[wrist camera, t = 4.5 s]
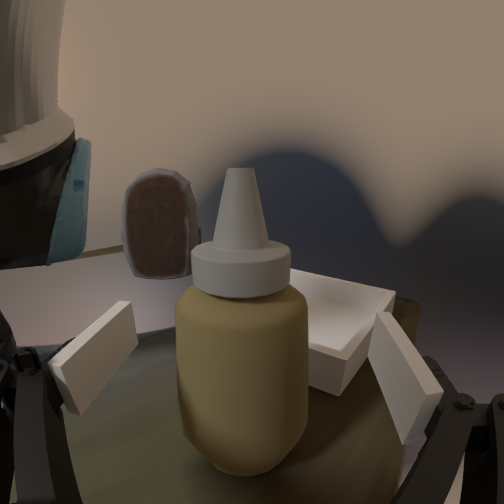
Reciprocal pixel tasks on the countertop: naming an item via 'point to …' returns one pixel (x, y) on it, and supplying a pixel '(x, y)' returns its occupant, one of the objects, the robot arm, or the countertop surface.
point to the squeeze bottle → (242, 341)
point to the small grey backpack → (160, 225)
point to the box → (338, 326)
